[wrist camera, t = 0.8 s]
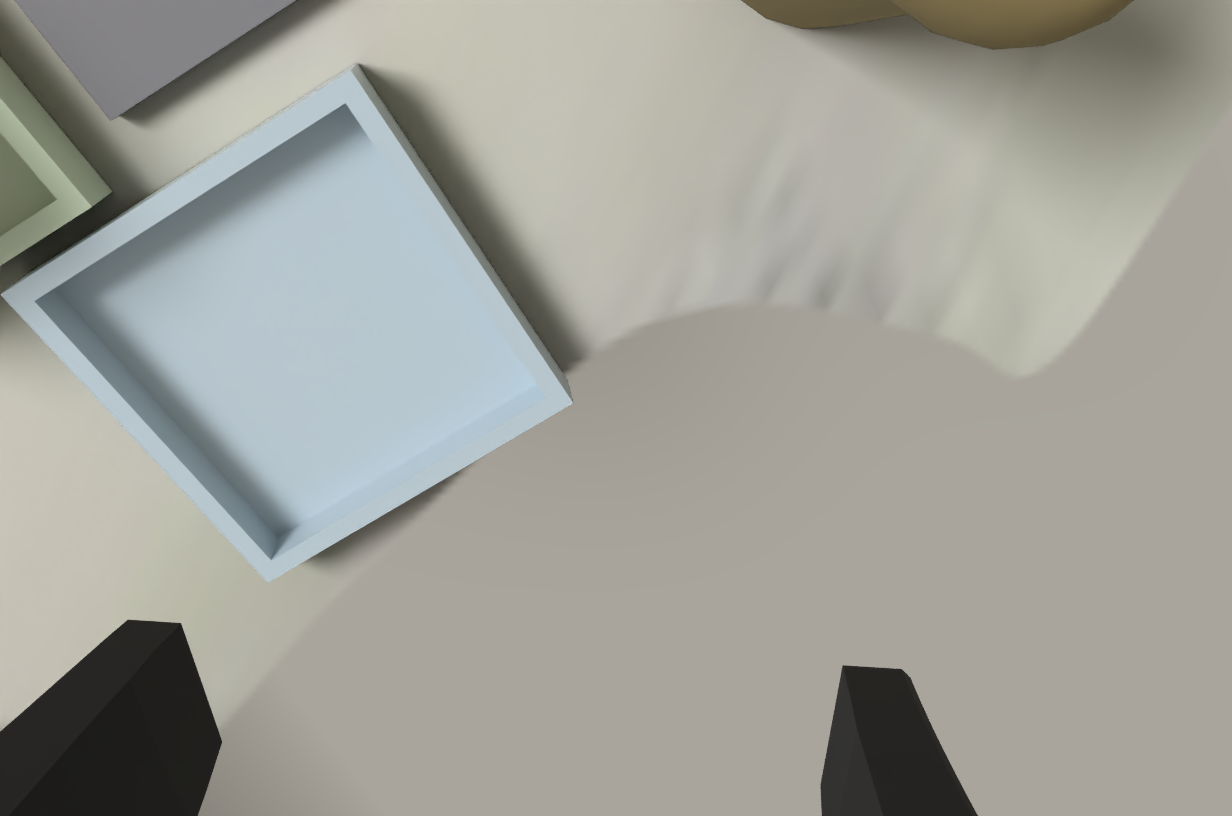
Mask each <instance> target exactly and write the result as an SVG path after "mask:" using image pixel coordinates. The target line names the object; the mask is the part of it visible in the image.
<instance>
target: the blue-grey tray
mask: <svg viewBox="0 0 1232 816" xmlns="http://www.w3.org/2000/svg"><path fill="white" fill-rule="evenodd" d="M0 295H1V296H2V297H3V298H4V299H5V300H6V301H7V303H8V304H9V305H10V306H11V307H12V308H13V309H14V310H15V311H16V312H17V313H18V314H19V315H20V317H21V318H22V319H23V320H24V321H25V322H26V323H27V324H28V325H29V326H30V327H31V328H32V329H33V331H34V332H35V333H36V334H37V335H38V336H39V337H40V338H41V339H42V340H43V341H44V342H45V343H46V345H47V346H48V347H49V348H50V349H51V350H52V351H53V352H54V353H55V354H56V355H57V356H58V357H59V359H60V360H61V361H62V362H63V363H64V364H65V365H66V366H67V367H68V368H69V369H70V370H71V371H72V373H73V374H74V375H75V376H76V377H77V378H78V379H79V380H80V381H81V382H82V383H83V384H84V385H85V387H86V388H87V389H88V390H89V391H90V392H91V393H92V394H93V395H94V396H95V397H96V398H97V399H98V401H99V402H100V403H101V404H102V405H103V406H104V407H105V408H106V409H107V410H108V411H109V412H110V414H111V415H112V416H113V417H114V418H115V419H116V420H117V421H118V422H119V423H120V424H121V425H122V426H123V428H124V429H125V430H126V431H127V432H128V433H129V434H130V435H131V436H132V437H133V438H134V439H135V440H136V442H137V443H138V444H139V445H140V446H141V447H142V448H143V449H144V450H145V451H146V452H147V453H148V454H149V456H150V457H151V458H152V459H153V460H154V461H155V462H156V463H157V464H158V465H159V466H160V467H161V468H162V470H163V471H164V472H165V473H166V474H167V475H168V476H169V477H170V478H171V479H172V480H173V481H174V482H175V484H176V485H177V486H178V487H179V488H180V489H181V490H182V491H183V492H184V493H185V494H186V495H187V496H188V498H189V499H190V500H191V501H192V502H193V503H194V504H195V505H196V506H197V507H198V508H199V509H200V510H201V512H202V513H203V514H204V515H205V516H206V517H207V518H208V519H209V520H210V521H211V522H212V523H213V524H214V526H215V527H216V528H217V529H218V530H219V531H220V532H221V533H222V534H223V535H224V536H225V537H226V538H227V540H228V541H229V542H230V543H231V544H232V545H233V546H234V547H235V548H236V549H237V550H238V551H239V553H240V554H241V555H242V556H243V557H244V558H245V559H246V560H247V561H248V562H249V563H250V564H251V565H252V567H253V568H254V569H255V570H256V571H257V572H258V573H259V574H260V575H261V576H262V577H263V578H264V579H265V581H266V582H267V583H268V582H270V581H272V580H273V579H275V578H277V577H278V576H280V575H282V574H284V573H285V572H287V571H289V570H290V569H292V568H294V567H295V566H297V565H299V564H301V563H302V562H304V561H306V560H307V559H309V558H311V557H313V556H314V555H316V554H318V553H319V552H321V551H323V550H324V549H326V548H328V547H330V546H331V545H333V544H335V543H336V542H338V541H340V540H341V539H343V538H345V537H347V536H348V535H350V534H352V533H353V532H355V531H357V530H359V529H360V528H362V527H364V526H365V525H367V524H369V523H370V522H372V521H374V520H376V519H377V518H379V517H381V516H382V515H384V514H386V513H387V512H389V511H391V510H393V509H394V508H396V507H398V506H399V505H401V504H403V503H405V502H406V501H408V500H410V499H411V498H413V497H415V496H416V495H418V494H420V493H422V492H423V491H425V490H427V489H428V488H430V487H432V486H433V485H435V484H437V483H439V482H440V481H442V480H444V479H445V478H447V477H449V476H451V475H452V474H454V473H456V472H457V471H459V470H461V469H462V468H464V467H466V466H468V465H469V464H471V463H473V462H474V461H476V460H478V459H479V458H481V457H483V456H485V455H486V454H488V453H490V452H491V451H493V450H495V449H497V448H498V447H500V446H502V445H503V444H505V443H507V442H508V441H510V440H512V439H514V438H515V437H517V436H519V435H520V434H522V433H524V432H525V431H527V430H529V429H531V428H532V427H534V426H536V425H537V424H539V423H541V422H542V421H544V420H546V419H548V418H549V417H551V416H553V415H554V414H556V413H558V412H560V411H561V410H563V409H564V408H566V407H568V406H570V405H571V404H573V400H572V396H571V392H570V388H569V385H568V380H567V379H566V377H565V376H564V374H563V373H562V371H561V370H560V368H559V367H558V365H557V364H556V362H555V361H554V359H553V358H552V356H551V355H550V353H549V352H548V350H547V349H546V347H545V346H544V344H543V343H542V341H541V340H540V338H539V337H538V335H537V334H536V332H535V331H534V329H533V328H532V326H531V325H530V323H529V322H528V320H527V319H526V317H525V316H524V314H523V313H522V311H521V310H520V308H519V307H518V305H517V304H516V302H515V301H514V299H513V298H512V296H511V294H510V293H509V291H508V290H507V288H506V287H505V285H504V284H503V282H502V281H501V279H500V278H499V276H498V275H497V273H496V272H495V270H494V269H493V267H492V266H491V264H490V263H489V261H488V260H487V258H486V257H485V255H484V254H483V252H482V251H481V249H480V248H479V246H478V245H477V243H476V242H475V240H474V239H473V237H472V236H471V234H470V233H469V231H468V230H467V228H466V227H465V225H464V224H463V222H462V221H461V219H460V218H459V216H458V215H457V213H456V212H455V210H454V209H453V207H452V206H451V204H450V203H449V201H448V200H447V198H446V197H445V195H444V194H443V192H442V191H441V189H440V187H439V186H438V184H437V183H436V181H435V180H434V178H433V177H432V175H431V174H430V172H429V171H428V169H427V168H426V166H425V165H424V163H423V162H422V160H421V159H420V157H419V156H418V154H417V153H416V151H415V150H414V148H413V147H412V145H411V144H410V142H409V141H408V139H407V138H406V136H405V135H404V133H403V132H402V130H401V129H400V127H399V126H398V124H397V123H396V121H395V120H394V118H393V117H392V115H391V114H390V112H389V111H388V109H387V108H386V106H385V105H384V103H383V102H382V100H381V99H380V97H379V96H378V94H377V93H376V91H375V90H374V88H373V87H372V85H371V84H370V82H369V80H368V79H367V77H366V76H365V74H364V73H363V71H362V70H361V68H360V67H359V65H358V64H357V63H356V64H354V65H353V66H351V67H349V68H348V69H346V70H345V71H343V72H342V73H340V74H338V75H337V76H335V77H334V78H332V79H331V80H329V81H328V82H326V83H324V84H323V85H321V86H320V87H318V88H317V89H315V90H313V91H312V92H310V93H309V94H307V95H306V96H304V97H303V98H301V99H299V100H298V101H296V102H295V103H293V104H292V105H290V106H288V107H287V108H285V109H284V110H282V111H281V112H279V113H278V114H276V115H274V116H273V117H271V118H270V119H268V120H267V121H265V122H263V123H262V124H260V125H259V126H257V127H256V128H254V129H253V130H251V131H249V132H248V133H246V134H245V135H243V136H242V137H240V138H238V139H237V140H235V141H234V142H232V143H231V144H229V145H227V146H226V147H224V148H223V149H221V150H220V151H218V152H217V153H215V154H213V155H212V156H210V157H209V158H207V159H206V160H204V161H202V162H201V163H199V164H198V165H196V166H195V167H193V168H192V169H190V170H188V171H187V172H185V173H184V174H182V175H181V176H179V177H177V178H176V179H174V180H173V181H171V182H170V183H168V184H167V185H165V186H163V187H162V188H160V189H159V190H157V191H156V192H154V193H152V194H151V195H149V196H148V197H146V198H145V199H143V200H142V201H140V202H138V203H137V204H135V205H134V206H132V207H131V208H129V209H127V210H126V211H124V212H123V213H121V214H120V215H118V216H117V217H115V218H113V219H112V220H110V221H109V222H107V223H106V224H104V225H102V226H101V227H99V228H98V229H96V230H95V231H93V232H92V233H90V234H88V235H87V236H85V237H84V238H82V239H81V240H79V241H77V242H76V243H74V244H73V245H71V246H70V247H68V248H67V249H65V250H63V251H62V252H60V253H59V254H57V255H56V256H54V257H52V258H51V259H49V260H48V261H46V262H45V263H43V264H42V265H40V266H38V267H37V268H35V269H34V270H32V271H31V272H29V273H27V274H26V275H25V276H23V277H22V278H21V279H19V280H18V281H17V282H16V283H14V284H13V285H12V286H11V287H9V288H8V289H7V290H5V291H4V292H3V293H2V294H0Z"/></svg>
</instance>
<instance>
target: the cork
mask: <svg viewBox="0 0 1232 816" xmlns="http://www.w3.org/2000/svg"><path fill="white" fill-rule="evenodd" d="M742 1H743V2H744V3H746V4H747V5H748V6H750V7H751V8H753V9H754V10H755V11H757V12H758V13H759V14H761V15H762V16H763V17H765V18H767V19H770V20H774V21H777V22H780V23H784V24H787V25H791V26H794V27H798V28H801V29H805V28H820V27H834V26H843V25H849V24H855V23H861V22H867V21H872V20H878V19H884V18H890V17H896V16H902V15H908V14H909V15H910V16H911V17H913V18H914V19H915V20H916V21H918V22H919V23H920V24H922V25H923V26H924V27H925V28H927V29H928V30H929V31H931V32H933V33H936V34H939V35H943V36H946V37H950V38H953V39H956V40H960V41H963V42H966V43H970V44H973V45H977V46H981V47H985V48H989V49H1007V48H1021V47H1034V46H1044V45H1047V44H1050V43H1054V42H1057V41H1060V40H1063V39H1065V38H1068V37H1070V36H1072V35H1075V34H1077V33H1080V32H1082V31H1084V30H1087V29H1089V28H1092V27H1094V26H1096V25H1099V24H1101V23H1103V22H1106V21H1108V20H1110V19H1111V18H1112V17H1113V16H1115V15H1116V14H1117V13H1118V12H1120V11H1121V10H1122V9H1123V8H1125V7H1126V6H1127V5H1128V4H1130V3H1131V2H1132V1H1133V0H742Z"/></svg>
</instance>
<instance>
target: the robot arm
mask: <svg viewBox="0 0 1232 816" xmlns="http://www.w3.org/2000/svg"><path fill="white" fill-rule="evenodd" d="M221 744H222V740H221V737H220V734H219V731H218V728H217V726H216V723H215V720H214V717H213V714H212V711H211V708H210V705H209V703H208V700H207V697H206V694H205V691H204V688H203V685H202V682H201V680H200V677H199V674H198V671H197V668H196V665H195V662H194V659H193V657H192V654H191V651H190V648H189V645H188V642H187V639H186V636H185V634H184V631H183V628H182V625H181V623H171V622H155V621H139V620H127V621H126V622H125V623H124V624H122V625H121V626H120V627H119V628H118V629H117V630H115V631H114V632H113V633H112V634H111V635H109V636H108V637H107V638H106V639H105V640H104V641H103V642H101V643H100V644H99V645H98V646H97V647H96V648H95V649H93V650H92V651H91V652H90V653H89V654H88V655H87V656H86V657H84V658H83V659H82V660H81V661H80V662H79V663H78V664H77V665H75V666H74V667H73V668H72V669H71V670H70V671H69V672H67V673H66V674H65V675H64V676H63V677H62V678H61V679H60V680H58V681H57V682H56V683H55V684H54V685H53V686H52V687H51V688H49V689H48V690H47V691H46V692H45V693H44V694H43V695H41V696H40V697H39V698H38V699H37V700H36V701H35V702H34V703H32V704H31V705H30V706H29V707H28V708H27V709H26V710H24V711H23V712H22V713H21V714H20V715H19V716H18V717H17V718H15V719H14V720H13V721H12V722H11V723H10V724H9V725H7V726H6V727H5V728H4V729H3V730H2V731H0V816H198V813H199V810H200V807H201V805H202V802H203V799H204V796H205V793H206V790H207V787H208V784H209V781H210V778H211V775H212V772H213V769H214V766H215V762H216V759H217V756H218V753H219V750H220V747H221ZM821 806H822V816H978V815H977V814H976V812H975V810H974V808H973V806H972V804H971V802H970V800H969V799H968V797H967V795H966V793H965V791H964V789H963V787H962V785H961V783H960V782H959V780H958V778H957V776H956V774H955V772H954V770H953V768H952V766H951V764H950V762H949V760H948V758H947V756H946V754H945V752H944V750H943V749H942V746H941V744H940V742H939V740H938V738H937V736H936V734H935V732H934V730H933V728H932V726H931V723H930V722H929V719H928V717H927V715H926V713H925V710H924V708H923V706H922V704H921V702H920V699H919V697H918V695H917V692H916V690H915V688H914V685H913V683H912V680H911V678H910V677H909V676H908V675H907V674H906V673H905V672H904V671H903V670H902V669H890V668H875V667H858V666H843V667H842V672H841V678H840V683H839V688H838V694H837V699H836V705H835V710H834V715H833V721H832V726H831V731H830V737H829V742H828V748H827V753H826V759H825V764H824V769H823V775H822V780H821Z"/></svg>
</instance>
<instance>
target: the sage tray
mask: <svg viewBox="0 0 1232 816" xmlns="http://www.w3.org/2000/svg"><path fill="white" fill-rule="evenodd" d="M111 192H112V191H111V189H110V188H109V187H108V186H107V185H106V183H105V182H104V181H103V180H102V178H101V177H100V176H99V175H98V174H97V172H96V171H95V170H94V169H93V168H92V166H91V165H90V164H89V163H88V162H87V160H86V159H85V158H84V157H83V155H82V154H81V153H80V152H79V151H78V149H77V148H76V147H75V146H74V145H73V143H72V142H71V141H70V140H69V139H68V137H67V136H66V135H65V134H64V132H63V131H62V130H61V129H60V128H59V126H58V125H57V124H56V123H55V122H54V120H53V119H52V118H51V117H50V116H49V114H48V113H47V112H46V111H45V109H44V108H43V107H42V106H41V105H40V103H39V102H38V101H37V100H36V99H35V97H34V96H33V95H32V94H31V93H30V91H29V90H28V89H27V88H26V86H25V85H24V84H23V83H22V82H21V80H20V79H19V78H18V77H17V76H16V74H15V73H14V72H13V71H12V70H11V68H10V67H9V66H8V65H7V63H6V62H5V61H4V60H3V59H2V57H1V56H0V266H1V265H2V264H4V263H5V262H7V261H9V260H10V259H12V258H13V257H15V256H16V255H18V254H19V253H21V252H23V251H24V250H26V249H27V248H29V247H30V246H32V245H33V244H35V243H37V242H38V241H40V240H41V239H43V238H44V237H46V236H47V235H49V234H51V233H52V232H54V231H55V230H57V229H58V228H60V227H61V226H63V225H65V224H66V223H68V222H69V221H71V220H72V219H74V218H75V217H77V216H79V215H80V214H82V213H83V212H85V211H86V210H88V209H89V208H91V207H92V206H94V205H95V204H97V203H98V202H99V201H101V200H102V199H103V198H105V197H106V196H107V195H109V194H110V193H111Z"/></svg>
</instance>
